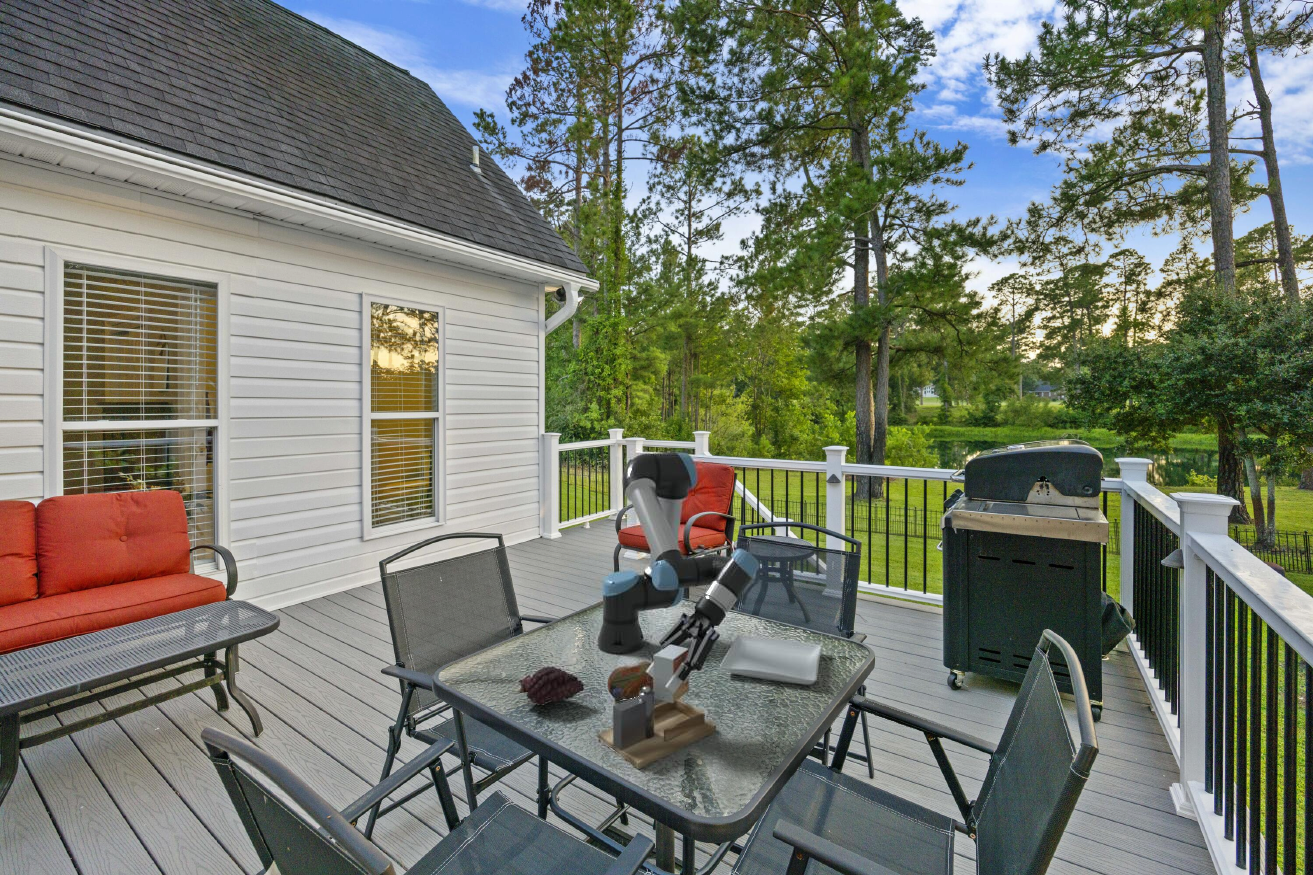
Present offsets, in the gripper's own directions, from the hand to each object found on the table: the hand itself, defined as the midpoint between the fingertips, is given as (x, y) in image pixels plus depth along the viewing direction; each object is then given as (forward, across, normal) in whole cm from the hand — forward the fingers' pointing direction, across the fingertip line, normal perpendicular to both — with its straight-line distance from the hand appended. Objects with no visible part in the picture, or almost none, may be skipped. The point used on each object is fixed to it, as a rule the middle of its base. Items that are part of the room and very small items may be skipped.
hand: (659, 682), depth 142 cm
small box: (0, 0, -5) cm, 5 cm away
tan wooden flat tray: (+9, 0, -8) cm, 13 cm away
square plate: (-26, +16, -44) cm, 54 cm away
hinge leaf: (+13, -1, -3) cm, 13 cm away
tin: (+6, +20, -12) cm, 24 cm away
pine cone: (+21, +27, +4) cm, 34 cm away
